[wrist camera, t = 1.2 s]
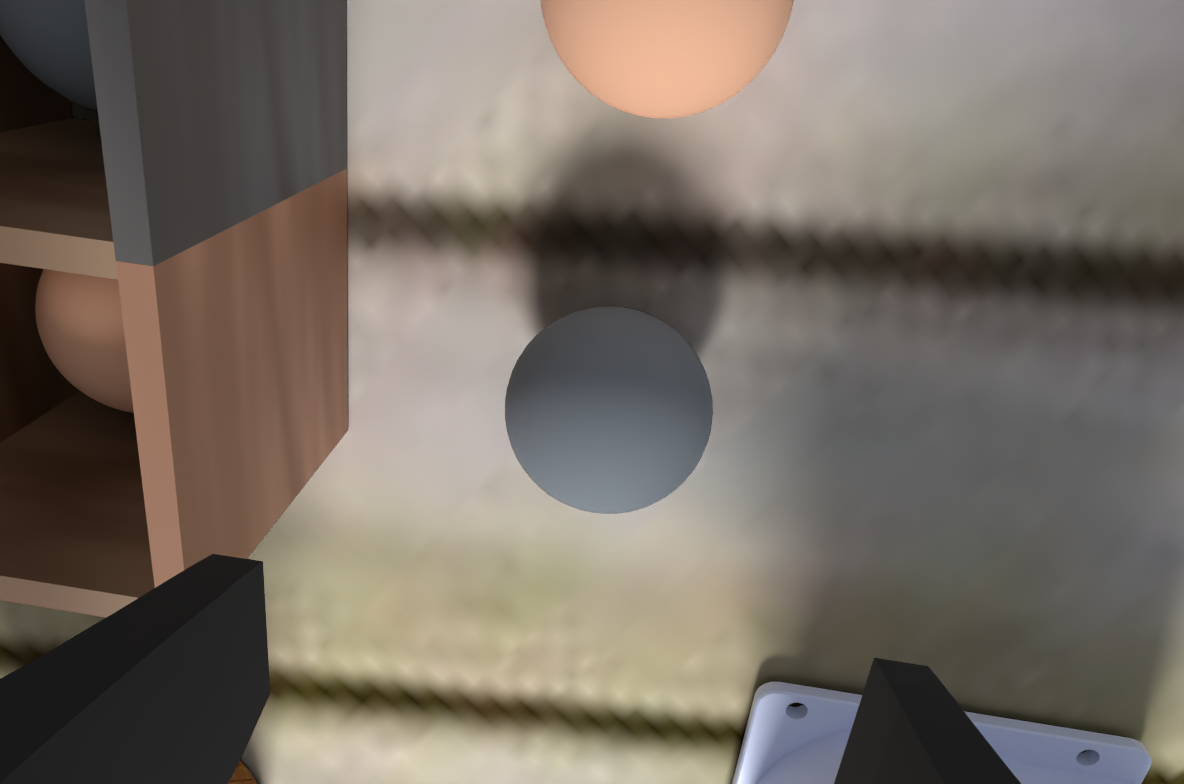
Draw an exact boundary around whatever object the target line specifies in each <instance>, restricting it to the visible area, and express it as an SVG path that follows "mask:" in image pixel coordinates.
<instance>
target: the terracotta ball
mask: <svg viewBox="0 0 1184 784" xmlns="http://www.w3.org/2000/svg"><path fill="white" fill-rule="evenodd" d="M793 2H794V0H541V8H542V12H543V17H544V21H545V25H546V28H547V31H548V34H549V36H550V39H551V42H552V44H553V46H554V48H555V50H556V52H557V54H558V56H559V57H560V59H561V60H562V62H563V63H564V65H565V66H566V68H567V69H568V71H569V72H570V73H571V74H572V75H573V76H574V78H575V79H576V80H577V81H578V82H579V83H580V84H581V85H582V86H583V87H584V88H585V89H587V90H588V91H589V92H590V93H591V94H593V95H594V96H596V97H597V98H598V99H600V100H601V101H603V102H605V103H606V104H608V105H610V106H612V107H614V108H616V109H619V110H621V111H624V112H627V113H630V114H633V115H638V116H643V117H648V118H677V117H684V116H688V115H693V114H697V113H700V112H703V111H705V110H708V109H711V108H713V107H715V106H717V105H719V104H721V103H723V102H725V101H726V100H728V99H729V98H731V97H732V96H734V95H735V94H737V93H738V92H740V91H741V90H742V89H743V88H744V87H745V86H746V85H747V84H749V83H750V82H751V81H752V80H753V79H754V78H755V77H756V76H757V74H758V73H759V72H760V71H761V70H762V69H763V68H764V66H765V65H766V63H767V62H768V60H769V59H770V58H771V56H772V55H773V53H774V52H775V50H776V48H777V46H778V44H779V42H780V40H781V38H782V36H783V34H784V31H785V29H786V26H787V23H788V21H789V18H790V14H791V10H792V6H793Z"/></svg>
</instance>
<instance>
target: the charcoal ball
mask: <svg viewBox="0 0 1184 784" xmlns="http://www.w3.org/2000/svg"><path fill="white" fill-rule="evenodd" d="M712 415H713V406H712V396H711V390H710V385H709V381H708V378H707V375H706V372H705V369H704V367H703V365H702V363H701V361H700V359H699V358H698V356H697V355H696V353H695V352H694V350H693V349H692V347H691V346H690V345H689V343H688V342H687V341H686V340H685V339H684V338H683V337H682V336H681V335H680V334H679V333H678V332H677V331H676V330H674V329H673V328H672V327H671V326H669V325H668V324H666V323H665V322H663V321H662V320H660V319H658V318H656V317H654V316H652V315H650V314H647V313H644V312H641V311H638V310H635V309H630V308H625V307H615V306H602V307H592V308H587V309H582V310H579V311H576V312H573V313H570V314H568V315H566V316H564V317H561V318H559V319H558V320H556V321H555V322H553V323H552V324H550V325H548V326H547V327H546V328H544V329H543V330H542V331H541V332H540V333H539V334H537V335H536V336H535V337H534V338H533V340H532V341H531V342H530V343H529V344H528V345H527V347H526V348H525V350H524V351H523V353H522V354H521V356H520V357H519V359H518V360H517V362H516V365H515V367H514V369H513V371H512V374H511V377H510V381H509V384H508V387H507V393H506V399H505V420H506V427H507V432H508V436H509V440H510V443H511V446H512V448H513V451H514V453H515V455H516V458H517V459H518V461H519V463H520V464H521V466H522V468H523V469H524V470H525V472H526V473H527V474H528V475H529V477H530V478H531V479H532V480H533V481H534V482H535V483H536V484H537V485H538V486H539V487H540V488H541V489H542V490H543V491H545V492H546V493H547V494H549V495H550V496H551V497H553V498H555V499H556V500H558V501H560V502H562V503H564V504H566V505H568V506H571V507H574V508H577V509H580V510H583V511H588V512H593V513H603V514H617V513H625V512H630V511H634V510H638V509H641V508H644V507H647V506H649V505H652V504H653V503H655V502H657V501H659V500H661V499H663V498H665V497H666V496H668V495H669V494H670V493H672V492H673V491H675V490H676V489H677V488H678V487H679V486H680V485H681V484H682V483H683V482H684V481H685V480H686V479H687V477H688V476H689V475H690V474H691V473H692V471H693V470H694V469H695V467H696V465H697V464H698V462H699V461H700V459H701V457H702V454H703V452H704V450H705V447H706V445H707V442H708V439H709V435H710V431H711V424H712Z"/></svg>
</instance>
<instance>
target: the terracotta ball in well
mask: <svg viewBox="0 0 1184 784" xmlns="http://www.w3.org/2000/svg"><path fill="white" fill-rule="evenodd" d="M35 315H36V323H37V328H38V332H39V335H40V338H41V341H42V343H43V346H44V348H45V350H46V352H47V354H48V356H49V358H50V359H51V361H52V362H53V364H54V365H55V367H56V368H57V369H58V370H59V372H60V373H61V374H62V375H63V376H64V377H65V378H66V379H67V380H68V381H69V382H70V383H71V384H72V385H73V386H75V387H76V388H77V389H79V390H80V391H81V392H83V393H84V394H86V395H87V396H89V397H91V398H92V399H94V400H96V401H98V402H100V403H102V404H104V405H106V406H109V407H112V408H115V409H118V410H122V411H126V412H131V413H134V410H133V401H132V393H131V385H130V376H129V368H128V360H127V351H126V343H125V335H124V326H123V318H122V310H121V301H120V293H119V284H118V280H117V279H110V278H103V277H96V276H89V275H82V274H75V273H69V272H62V271H55V270H48V269H43V272H42V275H41V277H40V280H39V283H38V287H37V292H36V305H35Z"/></svg>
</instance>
